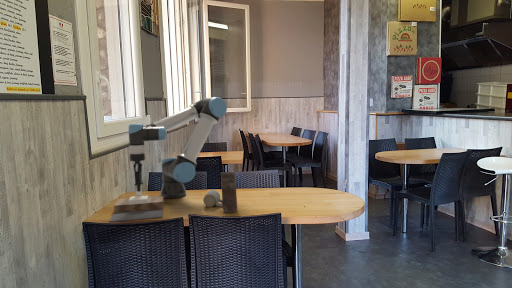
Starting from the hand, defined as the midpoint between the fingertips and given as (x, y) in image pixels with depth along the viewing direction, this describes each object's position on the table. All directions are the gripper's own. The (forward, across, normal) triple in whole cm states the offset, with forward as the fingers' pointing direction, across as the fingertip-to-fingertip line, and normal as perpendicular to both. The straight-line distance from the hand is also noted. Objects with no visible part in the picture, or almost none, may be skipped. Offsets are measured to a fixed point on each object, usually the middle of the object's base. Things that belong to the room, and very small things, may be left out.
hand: (139, 196), depth 193 cm
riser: (+6, +1, 0) cm, 6 cm away
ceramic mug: (+6, +8, +39) cm, 40 cm away
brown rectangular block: (+6, +22, +46) cm, 51 cm away
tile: (+2, +5, 0) cm, 5 cm away
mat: (+6, +16, +1) cm, 17 cm away
